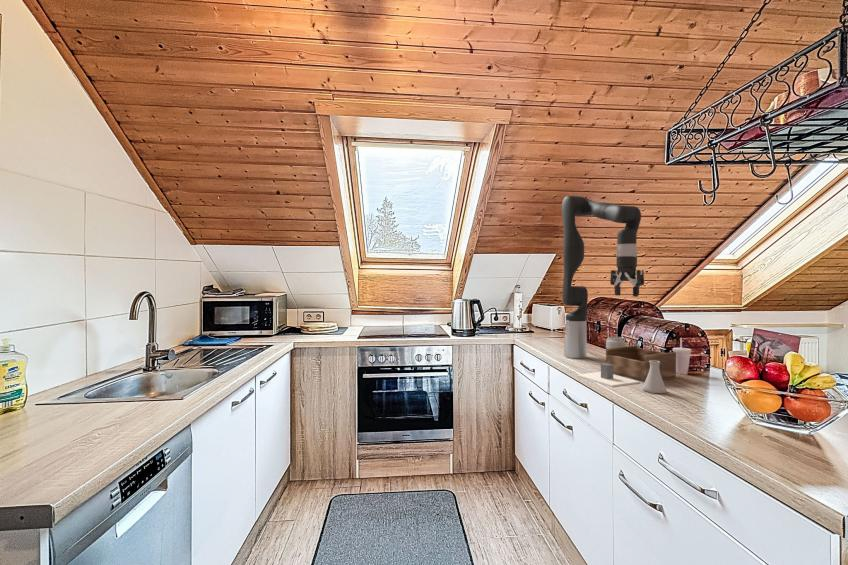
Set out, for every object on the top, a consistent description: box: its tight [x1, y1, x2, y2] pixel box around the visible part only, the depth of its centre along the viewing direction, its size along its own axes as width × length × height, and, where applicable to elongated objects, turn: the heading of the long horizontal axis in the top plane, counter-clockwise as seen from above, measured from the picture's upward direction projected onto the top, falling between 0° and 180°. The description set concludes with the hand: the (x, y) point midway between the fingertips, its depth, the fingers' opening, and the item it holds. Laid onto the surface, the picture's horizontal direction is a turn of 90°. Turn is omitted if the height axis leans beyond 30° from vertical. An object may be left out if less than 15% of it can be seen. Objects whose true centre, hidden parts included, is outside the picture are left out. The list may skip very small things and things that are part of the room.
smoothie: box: [672, 337, 692, 376], centre depth 167 cm, size 6×6×14 cm
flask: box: [641, 360, 668, 394], centre depth 142 cm, size 7×7×10 cm
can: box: [605, 336, 626, 349], centre depth 183 cm, size 8×8×12 cm
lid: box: [576, 362, 641, 388], centre depth 158 cm, size 17×13×6 cm
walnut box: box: [605, 345, 677, 383], centre depth 165 cm, size 18×16×10 cm
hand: (626, 295), depth 172 cm, fingers open, 8 cm apart
